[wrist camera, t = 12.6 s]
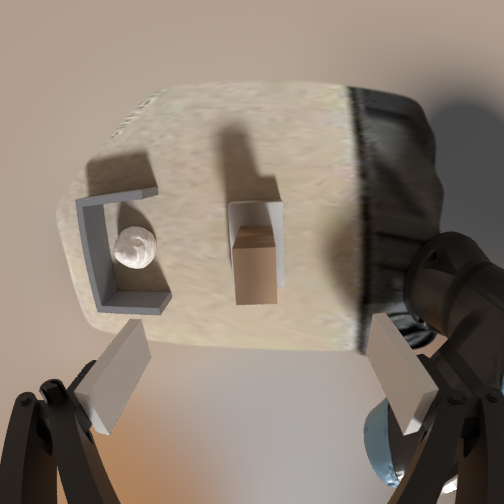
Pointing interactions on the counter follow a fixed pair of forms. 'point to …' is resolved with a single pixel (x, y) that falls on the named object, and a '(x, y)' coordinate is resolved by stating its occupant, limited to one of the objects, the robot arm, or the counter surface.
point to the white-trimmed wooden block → (257, 250)
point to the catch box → (100, 258)
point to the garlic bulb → (135, 247)
